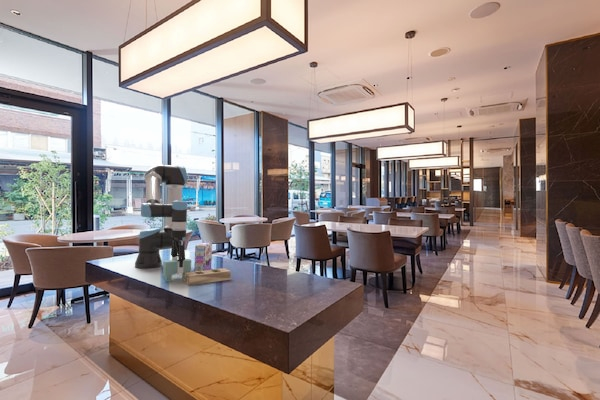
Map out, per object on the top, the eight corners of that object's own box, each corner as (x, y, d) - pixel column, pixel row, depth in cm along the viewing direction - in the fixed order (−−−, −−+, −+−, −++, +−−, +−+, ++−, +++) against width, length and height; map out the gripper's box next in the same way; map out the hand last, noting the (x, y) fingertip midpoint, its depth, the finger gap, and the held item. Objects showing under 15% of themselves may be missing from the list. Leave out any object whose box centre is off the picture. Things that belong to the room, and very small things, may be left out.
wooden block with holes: (183, 281, 155) (184, 272, 155) (223, 275, 168) (224, 268, 168) (189, 285, 148) (189, 276, 148) (230, 279, 161) (230, 271, 161)
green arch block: (162, 279, 156) (163, 260, 156) (188, 276, 164) (188, 258, 164) (164, 281, 152) (165, 262, 152) (190, 278, 160) (191, 260, 160)
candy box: (203, 274, 171) (205, 245, 171) (193, 273, 171) (194, 245, 171) (211, 268, 184) (212, 242, 185) (202, 268, 185) (203, 242, 185)
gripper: (165, 227, 165) (164, 267, 165) (177, 232, 147) (175, 276, 147) (179, 227, 169) (178, 266, 169) (192, 231, 151) (191, 274, 151)
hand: (177, 271), depth 158 cm, fingers open, 10 cm apart
